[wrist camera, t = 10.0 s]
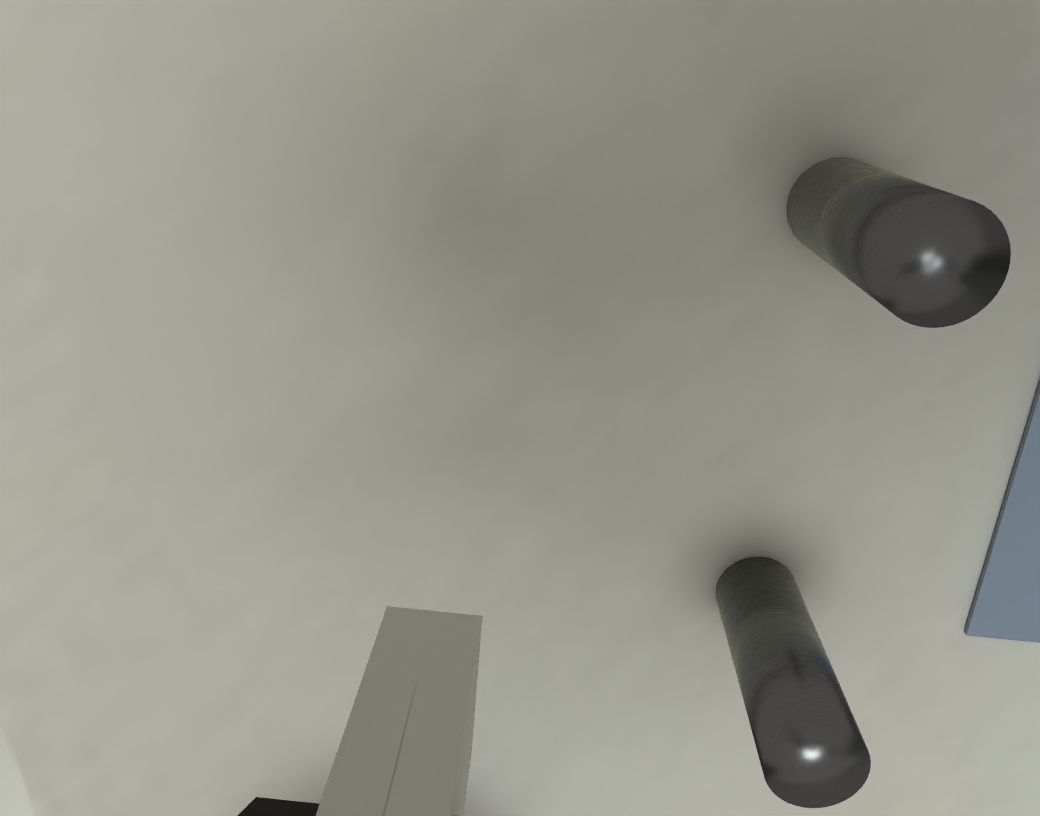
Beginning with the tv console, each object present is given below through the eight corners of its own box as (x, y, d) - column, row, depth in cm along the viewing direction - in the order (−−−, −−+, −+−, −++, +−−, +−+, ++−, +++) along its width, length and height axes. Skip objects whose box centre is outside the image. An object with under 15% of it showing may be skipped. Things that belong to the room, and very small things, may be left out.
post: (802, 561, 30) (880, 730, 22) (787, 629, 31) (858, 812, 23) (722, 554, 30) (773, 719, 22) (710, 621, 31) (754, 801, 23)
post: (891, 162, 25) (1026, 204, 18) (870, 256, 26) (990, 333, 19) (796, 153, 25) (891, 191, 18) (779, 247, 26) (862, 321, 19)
